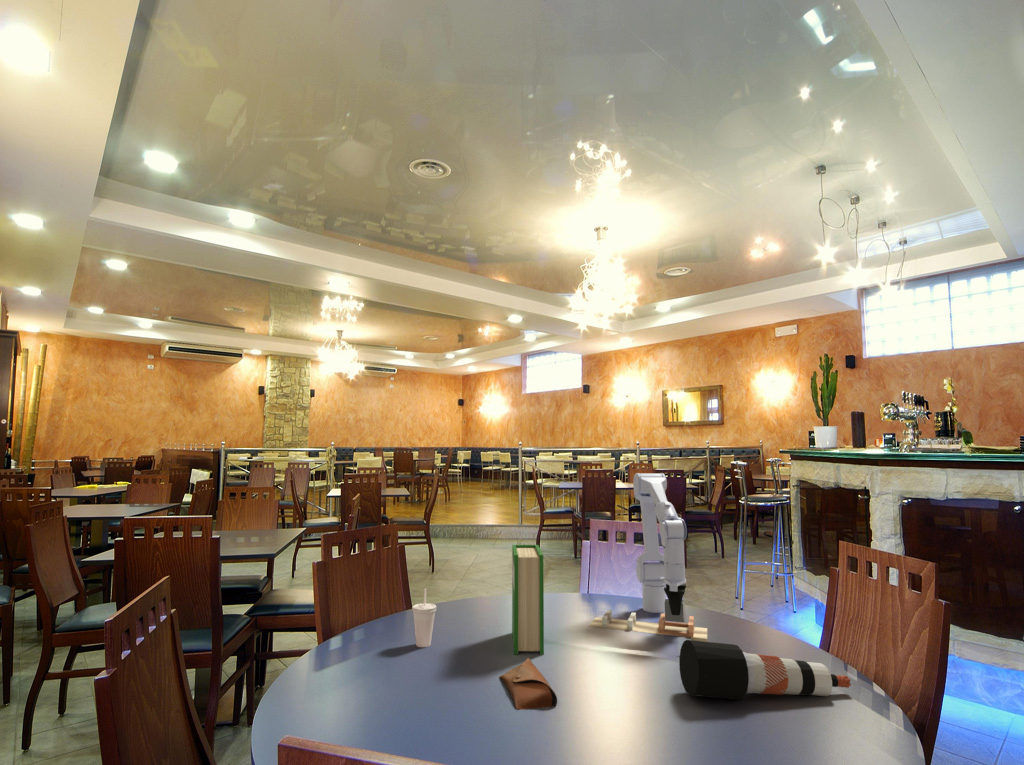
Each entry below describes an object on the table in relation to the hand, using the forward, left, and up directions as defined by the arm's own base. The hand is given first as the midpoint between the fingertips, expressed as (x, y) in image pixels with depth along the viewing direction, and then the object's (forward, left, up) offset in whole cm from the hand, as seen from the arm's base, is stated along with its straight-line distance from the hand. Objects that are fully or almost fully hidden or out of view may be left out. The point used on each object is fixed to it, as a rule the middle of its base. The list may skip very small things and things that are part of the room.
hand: (676, 612), depth 152 cm
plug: (0, 0, -2) cm, 2 cm away
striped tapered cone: (+35, +20, -6) cm, 41 cm away
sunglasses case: (+51, -28, -6) cm, 58 cm away
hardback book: (+22, -37, -6) cm, 43 cm away
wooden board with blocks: (0, -8, -6) cm, 10 cm away
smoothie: (+33, -62, -6) cm, 70 cm away
